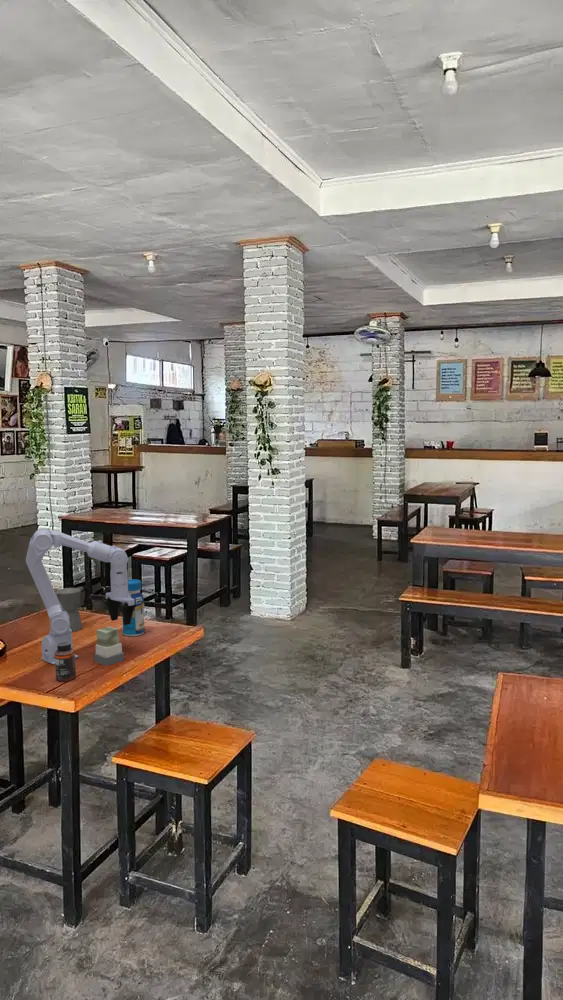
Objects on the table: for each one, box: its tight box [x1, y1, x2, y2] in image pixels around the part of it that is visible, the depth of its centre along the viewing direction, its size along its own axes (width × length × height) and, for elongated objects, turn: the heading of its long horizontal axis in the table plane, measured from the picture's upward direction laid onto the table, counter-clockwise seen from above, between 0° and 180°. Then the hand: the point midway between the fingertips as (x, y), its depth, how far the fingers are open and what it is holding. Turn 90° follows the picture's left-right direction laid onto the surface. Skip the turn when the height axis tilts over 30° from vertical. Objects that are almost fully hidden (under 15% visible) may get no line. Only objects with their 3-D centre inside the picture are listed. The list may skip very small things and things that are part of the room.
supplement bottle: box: [54, 642, 77, 682], centre depth 218 cm, size 6×6×11 cm
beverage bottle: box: [121, 579, 146, 637], centre depth 262 cm, size 8×8×20 cm
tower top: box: [95, 642, 123, 657], centre depth 234 cm, size 6×6×3 cm
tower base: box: [93, 651, 125, 667], centre depth 234 cm, size 7×7×3 cm
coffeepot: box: [55, 582, 91, 633], centre depth 270 cm, size 15×9×18 cm, turn 133°
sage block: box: [96, 626, 120, 648], centre depth 233 cm, size 5×5×5 cm
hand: (120, 622), depth 242 cm, fingers open, 7 cm apart
